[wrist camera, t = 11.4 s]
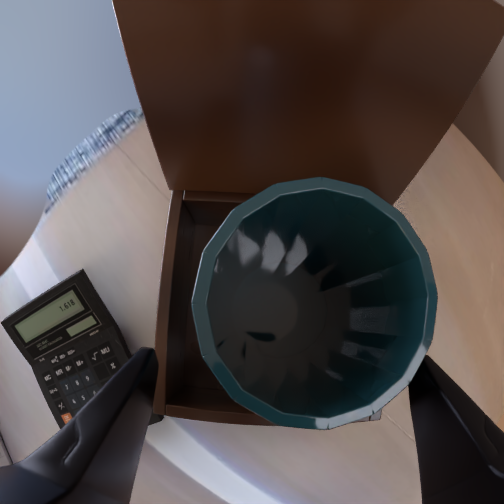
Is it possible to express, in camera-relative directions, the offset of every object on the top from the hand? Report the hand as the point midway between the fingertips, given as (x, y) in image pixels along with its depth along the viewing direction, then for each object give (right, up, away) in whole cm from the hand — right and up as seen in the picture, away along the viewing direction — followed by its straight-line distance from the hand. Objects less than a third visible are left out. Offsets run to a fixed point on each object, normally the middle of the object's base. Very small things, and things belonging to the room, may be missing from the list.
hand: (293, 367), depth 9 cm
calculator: (-14, -5, +10) cm, 18 cm away
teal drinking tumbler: (0, 0, +10) cm, 10 cm away
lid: (+1, +9, +1) cm, 9 cm away
